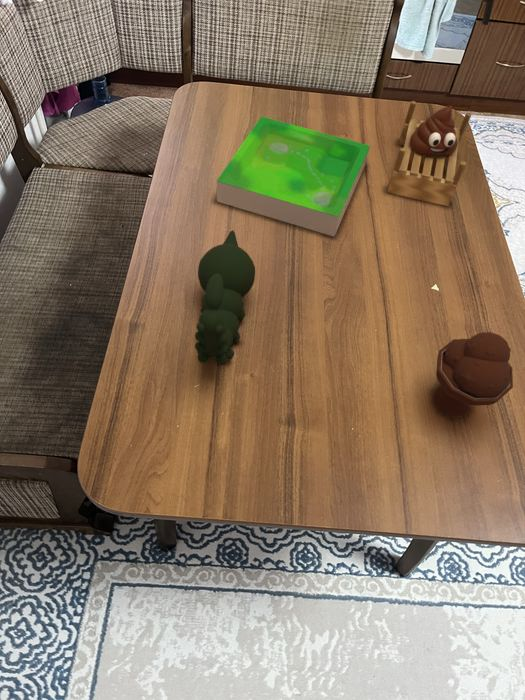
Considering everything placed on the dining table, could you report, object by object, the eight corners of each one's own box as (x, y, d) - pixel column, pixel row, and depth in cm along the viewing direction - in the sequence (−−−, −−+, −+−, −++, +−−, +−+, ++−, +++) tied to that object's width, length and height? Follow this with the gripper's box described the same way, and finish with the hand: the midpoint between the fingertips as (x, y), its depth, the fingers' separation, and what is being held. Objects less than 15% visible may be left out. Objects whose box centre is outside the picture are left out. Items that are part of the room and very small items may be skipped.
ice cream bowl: (410, 374, 87) (441, 316, 74) (475, 372, 88) (516, 314, 75) (426, 433, 80) (462, 380, 68) (496, 430, 82) (545, 378, 69)
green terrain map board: (216, 201, 108) (216, 180, 104) (260, 136, 122) (261, 116, 118) (334, 236, 104) (338, 216, 100) (364, 165, 118) (370, 145, 114)
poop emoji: (449, 136, 116) (465, 95, 109) (459, 160, 111) (477, 119, 104) (404, 135, 115) (417, 94, 108) (413, 160, 111) (427, 118, 103)
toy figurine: (242, 386, 85) (257, 264, 98) (244, 321, 69) (263, 185, 81) (183, 379, 85) (207, 259, 98) (172, 313, 69) (202, 178, 81)
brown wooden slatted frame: (455, 153, 123) (471, 112, 115) (448, 206, 112) (466, 165, 104) (398, 140, 125) (411, 99, 117) (386, 192, 113) (399, 151, 105)
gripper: (647, -133, 83) (592, 26, 96) (481, -134, 86) (450, 19, 99) (667, -138, 77) (605, 32, 90) (488, -139, 80) (454, 25, 94)
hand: (524, 26), depth 95 cm, fingers open, 13 cm apart
